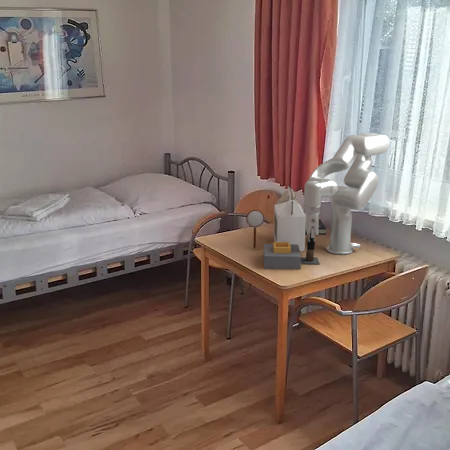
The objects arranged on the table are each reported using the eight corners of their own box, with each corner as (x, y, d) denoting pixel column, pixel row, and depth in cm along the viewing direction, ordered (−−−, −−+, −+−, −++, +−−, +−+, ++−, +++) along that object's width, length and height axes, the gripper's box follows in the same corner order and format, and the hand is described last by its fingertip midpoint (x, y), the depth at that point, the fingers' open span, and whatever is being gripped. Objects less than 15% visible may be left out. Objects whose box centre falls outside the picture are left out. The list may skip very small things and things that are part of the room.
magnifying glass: (246, 250, 264) (246, 210, 258) (245, 249, 266) (246, 209, 260) (263, 249, 265) (264, 210, 259) (262, 248, 267) (263, 209, 261)
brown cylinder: (313, 258, 252) (314, 228, 247) (313, 261, 248) (315, 230, 244) (305, 258, 252) (307, 227, 247) (306, 261, 249) (307, 230, 244)
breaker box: (297, 256, 256) (298, 239, 254) (300, 269, 241) (301, 251, 238) (263, 256, 257) (263, 238, 254) (264, 268, 242) (264, 250, 239)
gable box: (304, 251, 263) (306, 195, 255) (276, 251, 263) (278, 195, 255) (298, 236, 284) (301, 184, 276) (273, 236, 284) (274, 184, 276)
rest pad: (317, 258, 254) (317, 257, 254) (319, 264, 246) (319, 263, 246) (300, 258, 254) (300, 257, 254) (301, 264, 247) (301, 263, 247)
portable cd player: (294, 236, 287) (295, 228, 286) (290, 226, 303) (290, 219, 302) (325, 235, 287) (326, 228, 286) (319, 225, 304) (320, 219, 302)
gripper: (323, 214, 235) (320, 254, 240) (318, 204, 251) (316, 241, 256) (305, 214, 235) (303, 253, 240) (301, 203, 251) (300, 241, 257)
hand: (310, 247), depth 248 cm, fingers open, 4 cm apart
